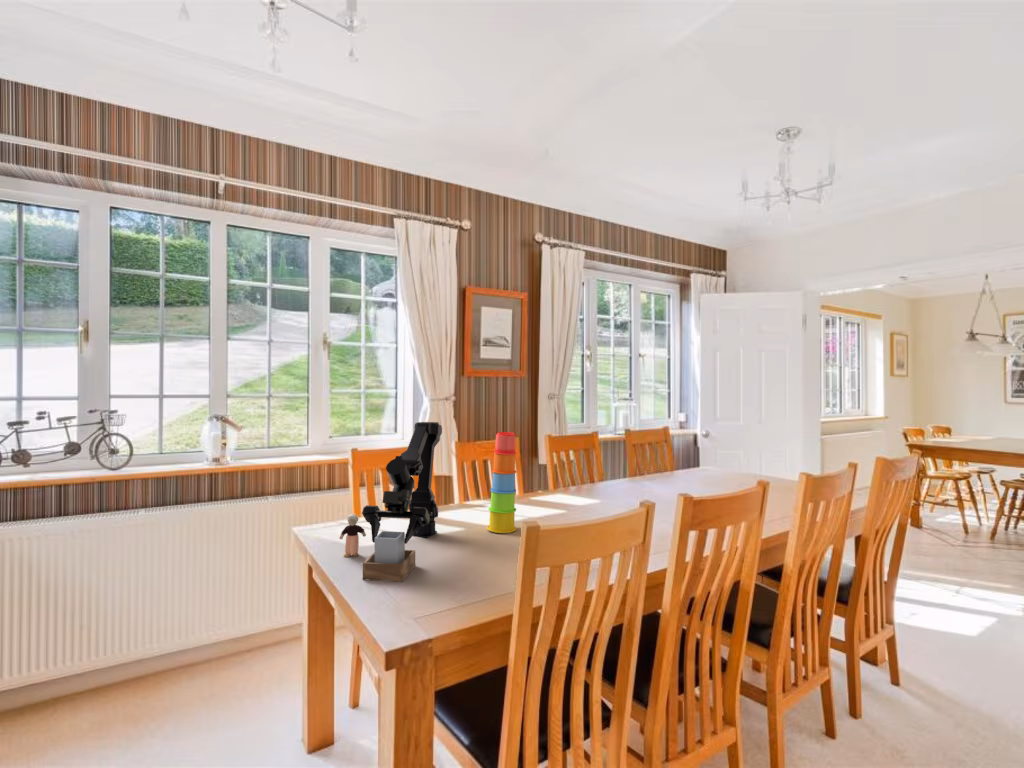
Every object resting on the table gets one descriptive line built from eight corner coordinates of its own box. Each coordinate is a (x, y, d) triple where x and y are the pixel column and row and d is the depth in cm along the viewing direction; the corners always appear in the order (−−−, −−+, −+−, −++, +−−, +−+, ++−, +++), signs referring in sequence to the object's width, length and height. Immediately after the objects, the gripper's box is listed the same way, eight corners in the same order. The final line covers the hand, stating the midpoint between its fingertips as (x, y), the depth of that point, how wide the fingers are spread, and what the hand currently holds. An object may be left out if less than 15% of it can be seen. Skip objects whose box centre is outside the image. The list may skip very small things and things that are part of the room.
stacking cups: (490, 524, 187) (490, 430, 186) (518, 526, 185) (518, 431, 184) (484, 533, 177) (484, 434, 176) (513, 535, 175) (513, 434, 174)
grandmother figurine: (341, 559, 152) (340, 517, 152) (339, 555, 156) (338, 514, 156) (367, 554, 156) (366, 513, 156) (364, 551, 159) (364, 510, 159)
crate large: (378, 564, 149) (378, 548, 148) (415, 565, 147) (415, 550, 147) (362, 579, 137) (362, 563, 137) (402, 581, 136) (402, 564, 136)
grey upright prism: (382, 565, 146) (382, 531, 145) (404, 566, 145) (404, 532, 145) (374, 574, 140) (374, 537, 139) (397, 575, 139) (397, 538, 139)
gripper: (364, 477, 147) (348, 527, 137) (426, 479, 145) (415, 529, 135) (374, 498, 156) (360, 546, 145) (434, 499, 153) (424, 548, 143)
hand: (389, 542), depth 142 cm, fingers open, 9 cm apart
